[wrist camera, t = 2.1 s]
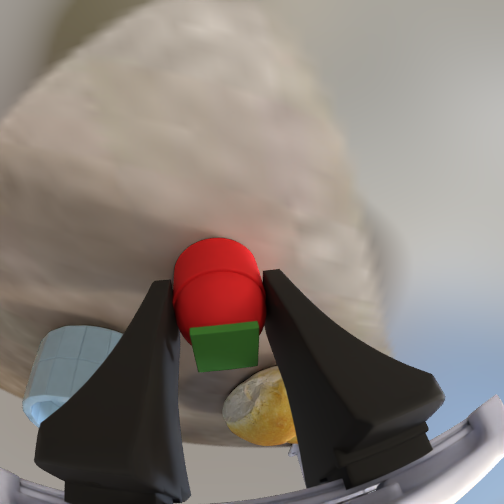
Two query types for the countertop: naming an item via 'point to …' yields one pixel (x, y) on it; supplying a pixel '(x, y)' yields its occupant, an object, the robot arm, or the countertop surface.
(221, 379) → the countertop surface
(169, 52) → the countertop surface
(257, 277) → the strawberry
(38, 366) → the bowl
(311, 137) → the countertop surface
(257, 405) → the bread roll
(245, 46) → the countertop surface
